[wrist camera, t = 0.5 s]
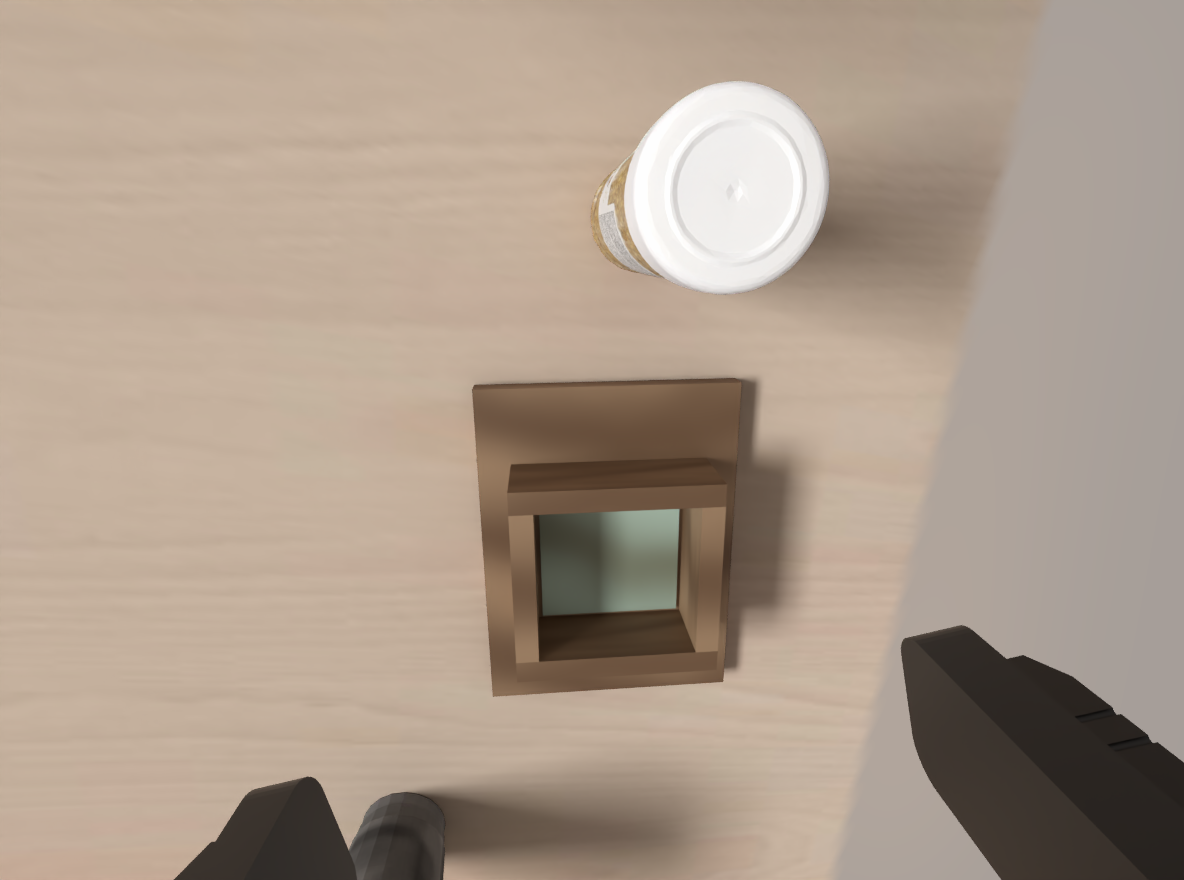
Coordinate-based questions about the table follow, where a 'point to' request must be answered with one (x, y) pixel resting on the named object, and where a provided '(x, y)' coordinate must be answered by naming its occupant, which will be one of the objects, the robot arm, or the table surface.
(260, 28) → the table surface
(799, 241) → the sprinkles bottle
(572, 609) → the wooden square holder
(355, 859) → the beverage cup
